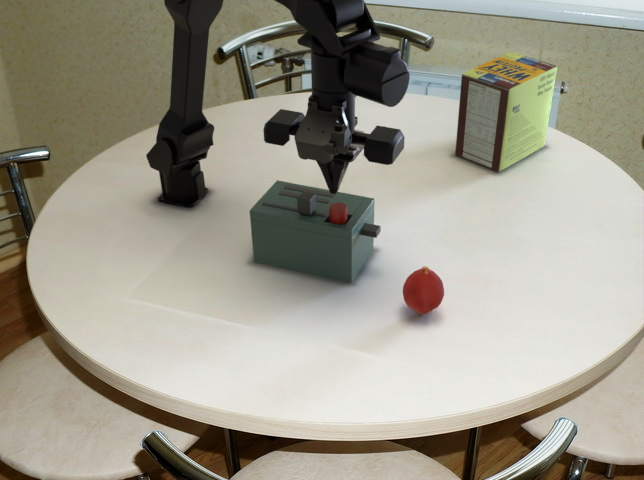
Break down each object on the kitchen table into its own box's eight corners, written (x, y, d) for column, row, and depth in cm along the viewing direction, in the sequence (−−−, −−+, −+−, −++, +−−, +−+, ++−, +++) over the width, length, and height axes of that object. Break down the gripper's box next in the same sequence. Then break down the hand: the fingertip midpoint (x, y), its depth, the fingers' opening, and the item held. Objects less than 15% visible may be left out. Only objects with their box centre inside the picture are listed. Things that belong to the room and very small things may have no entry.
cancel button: (326, 222, 123) (326, 209, 122) (333, 214, 125) (333, 200, 124) (343, 226, 123) (343, 212, 121) (349, 217, 125) (349, 204, 123)
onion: (399, 301, 124) (402, 254, 119) (439, 300, 124) (443, 253, 119) (404, 325, 119) (406, 278, 114) (444, 324, 120) (449, 276, 115)
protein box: (545, 146, 163) (558, 65, 153) (498, 173, 154) (509, 89, 144) (500, 130, 168) (510, 50, 158) (453, 155, 160) (460, 72, 149)
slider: (297, 213, 124) (296, 198, 122) (303, 205, 126) (303, 190, 124) (310, 215, 124) (309, 200, 122) (316, 207, 125) (316, 193, 124)
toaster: (253, 262, 131) (249, 209, 125) (280, 230, 138) (277, 179, 132) (366, 286, 127) (367, 233, 121) (387, 252, 134) (389, 200, 128)
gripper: (241, 97, 108) (250, 206, 118) (380, 120, 104) (377, 232, 114) (277, 66, 116) (282, 171, 126) (408, 87, 112) (402, 194, 122)
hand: (334, 192), depth 122 cm, fingers closed
